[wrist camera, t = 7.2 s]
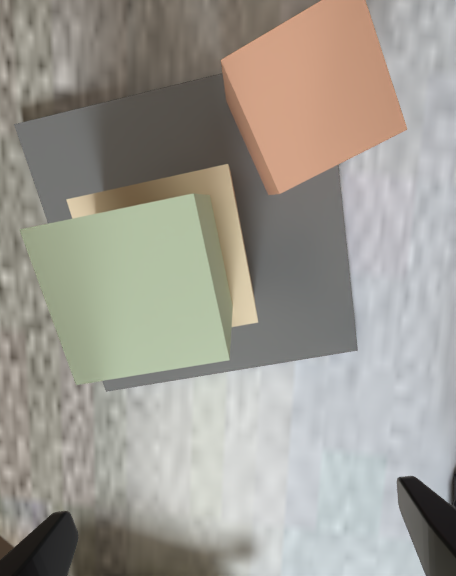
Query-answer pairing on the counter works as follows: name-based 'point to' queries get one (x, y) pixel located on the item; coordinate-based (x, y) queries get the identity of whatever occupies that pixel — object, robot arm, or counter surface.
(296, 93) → the salmon pink cube
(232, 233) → the maple brick
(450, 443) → the counter surface
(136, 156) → the slate tile
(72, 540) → the robot arm
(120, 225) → the pale green cube
